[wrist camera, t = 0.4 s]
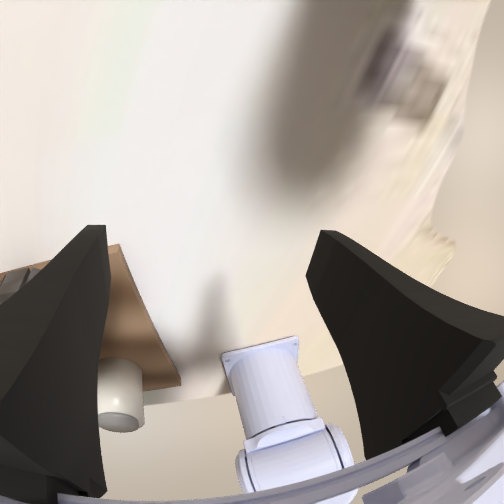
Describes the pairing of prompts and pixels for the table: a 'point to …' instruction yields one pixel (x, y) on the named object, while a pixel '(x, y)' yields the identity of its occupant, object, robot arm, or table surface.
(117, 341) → the socket board
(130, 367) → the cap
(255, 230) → the table surface
